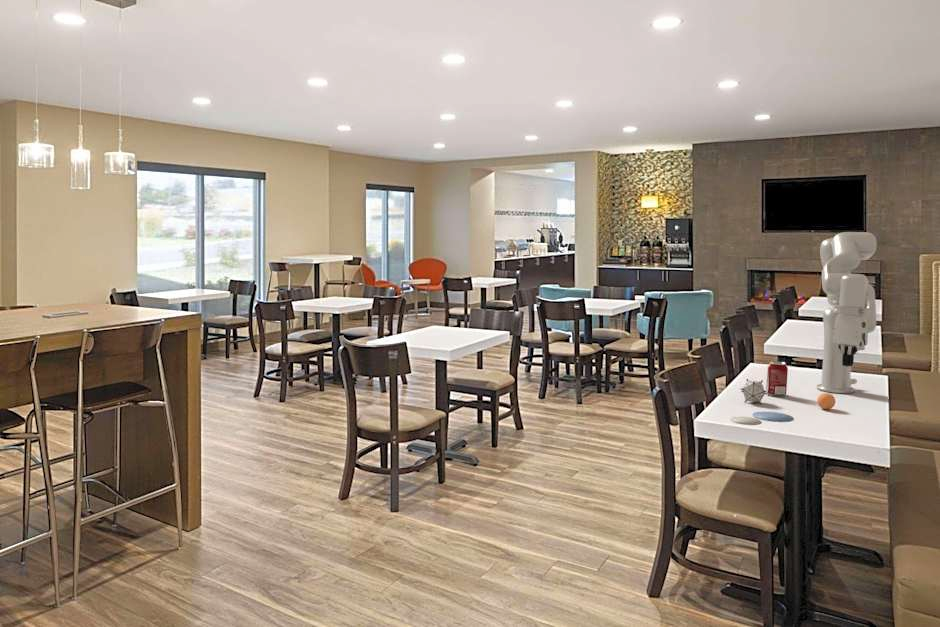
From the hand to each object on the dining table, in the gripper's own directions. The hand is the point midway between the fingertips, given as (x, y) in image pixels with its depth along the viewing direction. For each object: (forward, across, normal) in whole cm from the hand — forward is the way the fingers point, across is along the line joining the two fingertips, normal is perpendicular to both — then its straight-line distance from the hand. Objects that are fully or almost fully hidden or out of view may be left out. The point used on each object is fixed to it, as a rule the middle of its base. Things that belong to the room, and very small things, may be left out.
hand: (847, 365), depth 244 cm
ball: (+12, 0, +9) cm, 15 cm away
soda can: (+14, +22, +7) cm, 28 cm away
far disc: (+15, 0, +46) cm, 48 cm away
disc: (+14, 0, +34) cm, 37 cm away
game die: (+14, +17, +24) cm, 33 cm away
